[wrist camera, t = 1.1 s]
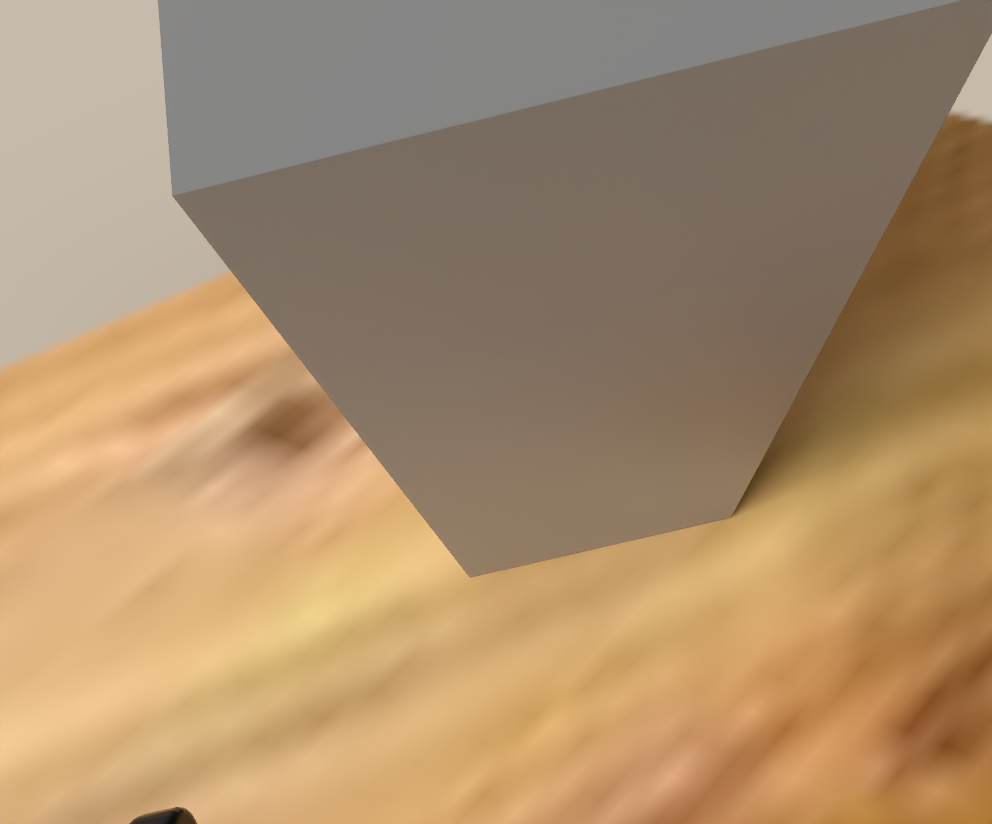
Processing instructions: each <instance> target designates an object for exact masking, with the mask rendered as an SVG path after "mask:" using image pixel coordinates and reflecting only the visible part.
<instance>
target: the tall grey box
mask: <svg viewBox="0 0 992 824" xmlns="http://www.w3.org/2000/svg"><path fill="white" fill-rule="evenodd" d="M158 6H159V20H160V33H161V47H162V61H163V73H164V87H165V101H166V115H167V128H168V142H169V155H170V169H171V182H172V196H173V197H174V198H175V200H176V201H177V202H178V203H179V205H180V206H181V207H182V208H183V210H184V211H185V212H186V214H187V215H188V216H189V218H190V219H191V220H192V221H193V223H194V224H195V225H196V226H197V228H198V229H199V230H200V232H201V233H202V234H203V235H204V237H205V238H206V239H207V241H208V242H209V243H210V244H211V245H212V247H213V248H214V250H215V251H216V252H217V253H218V255H219V256H220V257H221V259H222V260H223V261H224V262H225V264H226V265H227V266H228V268H229V269H230V270H231V271H232V273H233V274H234V275H235V277H236V278H237V279H238V280H239V282H240V283H241V284H242V286H243V287H244V288H245V289H246V291H247V292H248V293H249V295H250V296H251V297H252V298H253V300H254V301H255V302H256V304H257V305H258V306H259V307H260V309H261V310H262V311H263V313H264V314H265V315H266V316H267V318H268V319H269V320H270V322H271V323H272V324H273V325H274V327H275V328H276V329H277V331H278V332H279V333H280V334H281V336H282V337H283V338H284V340H285V341H286V342H287V343H288V345H289V346H290V347H291V349H292V350H293V351H294V352H295V354H296V355H297V356H298V358H299V359H300V360H301V361H302V363H303V364H304V365H305V366H306V368H307V369H308V370H309V372H310V373H311V374H312V375H313V377H314V378H315V379H316V381H317V382H318V383H319V384H320V386H321V387H322V388H323V390H324V391H325V392H326V393H327V395H328V396H329V397H330V399H331V400H332V401H333V402H334V404H335V405H336V406H337V408H338V409H339V410H340V411H341V413H342V414H343V415H344V417H345V418H346V419H347V420H348V422H349V423H350V424H351V426H352V427H353V428H354V429H355V431H356V432H357V433H358V435H359V436H360V437H361V438H362V440H363V441H364V442H365V444H366V445H367V446H368V447H369V449H370V450H371V451H372V453H373V454H374V455H375V456H376V458H377V459H378V460H379V462H380V463H381V464H382V465H383V467H384V468H385V469H386V470H387V472H388V473H389V474H390V476H391V477H392V478H393V479H394V481H395V482H396V483H397V485H398V486H399V487H400V488H401V490H402V491H403V492H404V494H405V495H406V496H407V497H408V499H409V500H410V501H411V503H412V504H413V505H414V506H415V508H416V509H417V510H418V512H419V513H420V514H421V515H422V517H423V518H424V519H425V521H426V522H427V523H428V524H429V526H430V527H431V528H432V530H433V531H434V532H435V533H436V535H437V536H438V537H439V539H440V540H441V541H442V542H443V544H444V545H445V546H446V548H447V549H448V550H449V551H450V553H451V554H452V555H453V557H454V558H455V559H456V560H457V562H458V563H459V564H460V566H461V567H462V568H463V569H464V571H465V572H466V573H467V574H468V576H469V577H474V576H479V575H483V574H487V573H492V572H496V571H500V570H505V569H509V568H513V567H518V566H522V565H527V564H531V563H535V562H540V561H544V560H548V559H553V558H557V557H561V556H566V555H570V554H574V553H579V552H583V551H587V550H592V549H596V548H600V547H605V546H609V545H613V544H618V543H622V542H626V541H631V540H635V539H640V538H644V537H648V536H653V535H657V534H661V533H666V532H670V531H674V530H679V529H683V528H687V527H692V526H696V525H700V524H705V523H709V522H713V521H718V520H722V519H726V518H731V517H732V515H733V513H734V511H735V509H736V507H737V505H738V504H739V502H740V500H741V498H742V496H743V494H744V492H745V491H746V489H747V487H748V485H749V483H750V481H751V479H752V478H753V476H754V474H755V472H756V470H757V468H758V466H759V465H760V463H761V461H762V459H763V457H764V455H765V453H766V452H767V450H768V448H769V446H770V444H771V442H772V440H773V438H774V437H775V435H776V433H777V431H778V429H779V427H780V425H781V424H782V422H783V420H784V418H785V416H786V414H787V412H788V411H789V409H790V407H791V405H792V403H793V401H794V399H795V398H796V396H797V394H798V392H799V390H800V388H801V386H802V385H803V383H804V381H805V379H806V377H807V375H808V373H809V372H810V370H811V368H812V366H813V364H814V362H815V360H816V359H817V357H818V355H819V353H820V351H821V349H822V347H823V346H824V344H825V342H826V340H827V338H828V336H829V334H830V333H831V331H832V329H833V327H834V325H835V323H836V321H837V320H838V318H839V316H840V314H841V312H842V310H843V308H844V307H845V305H846V303H847V301H848V299H849V297H850V295H851V294H852V292H853V290H854V288H855V286H856V284H857V282H858V281H859V279H860V277H861V275H862V273H863V271H864V269H865V268H866V266H867V264H868V262H869V260H870V258H871V256H872V255H873V253H874V251H875V249H876V247H877V245H878V243H879V242H880V240H881V238H882V236H883V234H884V232H885V230H886V229H887V227H888V225H889V223H890V221H891V219H892V217H893V216H894V214H895V212H896V210H897V208H898V206H899V204H900V203H901V201H902V199H903V197H904V195H905V193H906V191H907V190H908V188H909V186H910V184H911V182H912V180H913V178H914V177H915V175H916V173H917V171H918V169H919V167H920V165H921V163H922V162H923V160H924V158H925V156H926V154H927V152H928V150H929V149H930V147H931V145H932V143H933V141H934V139H935V137H936V136H937V134H938V132H939V130H940V128H941V126H942V124H943V123H944V121H945V119H946V117H947V115H948V113H949V111H950V110H951V108H952V106H953V104H954V102H955V100H956V98H957V97H958V95H959V93H960V91H961V89H962V87H963V85H964V84H965V82H966V80H967V78H968V76H969V74H970V72H971V70H972V69H973V67H974V65H975V63H976V61H977V59H978V58H979V56H980V54H981V52H982V50H983V48H984V46H985V45H986V43H987V41H988V39H989V37H990V35H991V33H992V0H158Z"/></svg>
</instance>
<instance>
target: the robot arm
mask: <svg viewBox="0 0 992 824" xmlns="http://www.w3.org/2000/svg"><path fill="white" fill-rule="evenodd" d="M130 824H197V822H196V820H195V818H194V817H193V815H192V814H191V813H190V812H189V811H188V810H187V809H185V808H180V807H175V808H171V809H166V810H162V811H157V812H153V813H148V814H144V815H142V816H139V817H137V818H135V819H134V820H133V821H132V822H131V823H130Z"/></svg>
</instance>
